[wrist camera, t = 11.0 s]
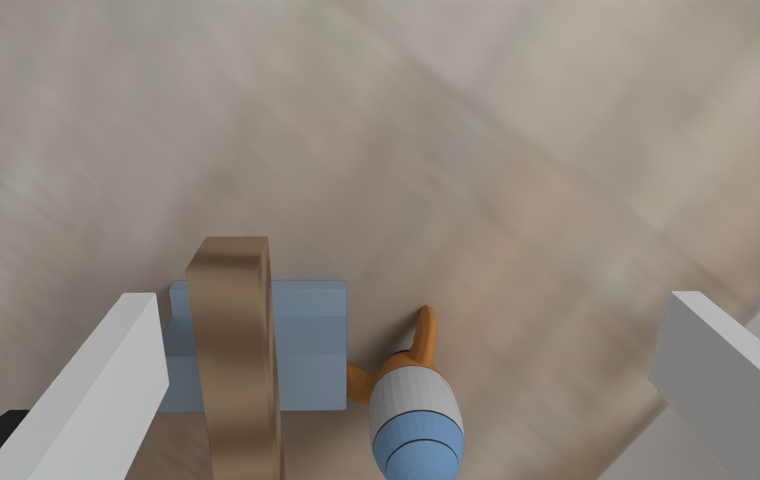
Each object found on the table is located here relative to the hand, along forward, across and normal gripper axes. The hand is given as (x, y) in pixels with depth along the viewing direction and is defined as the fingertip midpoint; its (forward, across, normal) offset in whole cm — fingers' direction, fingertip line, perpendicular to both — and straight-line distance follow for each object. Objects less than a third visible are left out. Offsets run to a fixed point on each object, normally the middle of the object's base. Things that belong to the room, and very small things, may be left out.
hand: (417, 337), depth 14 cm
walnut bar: (+22, -9, -18) cm, 30 cm away
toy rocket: (+29, +4, -20) cm, 35 cm away
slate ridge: (+29, -9, -18) cm, 35 cm away
